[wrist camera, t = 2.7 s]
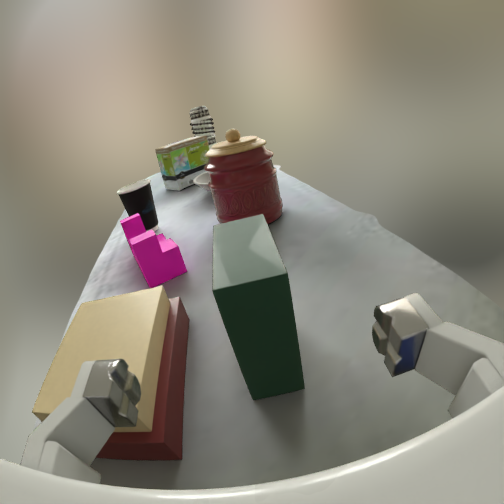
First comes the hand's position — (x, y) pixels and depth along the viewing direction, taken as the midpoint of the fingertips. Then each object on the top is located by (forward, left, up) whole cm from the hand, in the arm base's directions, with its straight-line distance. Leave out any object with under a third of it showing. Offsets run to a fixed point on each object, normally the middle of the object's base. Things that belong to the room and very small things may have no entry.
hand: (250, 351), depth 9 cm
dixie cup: (+55, +21, -15) cm, 61 cm away
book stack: (+12, +15, -15) cm, 24 cm away
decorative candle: (+114, +7, -15) cm, 115 cm away
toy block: (+38, +16, -15) cm, 44 cm away
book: (+13, 0, -15) cm, 20 cm away
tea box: (+92, +14, -15) cm, 94 cm away
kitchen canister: (+48, -2, -15) cm, 50 cm away
